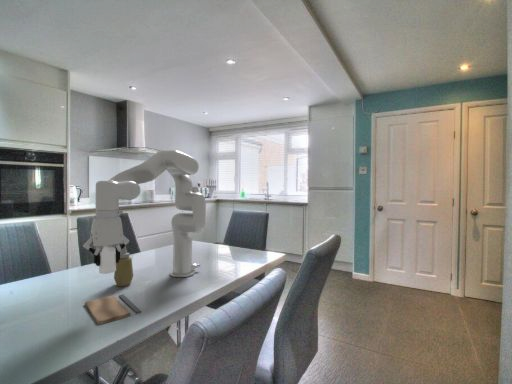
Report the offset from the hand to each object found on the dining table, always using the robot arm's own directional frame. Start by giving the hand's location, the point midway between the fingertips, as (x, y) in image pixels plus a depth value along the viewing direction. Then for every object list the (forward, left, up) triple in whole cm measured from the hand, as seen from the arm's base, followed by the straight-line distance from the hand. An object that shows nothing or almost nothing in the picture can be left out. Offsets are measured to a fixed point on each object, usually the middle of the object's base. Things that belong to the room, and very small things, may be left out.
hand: (107, 263), depth 102 cm
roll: (0, 0, -3) cm, 3 cm away
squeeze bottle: (-13, -23, -18) cm, 32 cm away
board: (0, 0, -17) cm, 17 cm away
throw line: (-8, 0, -17) cm, 19 cm away
